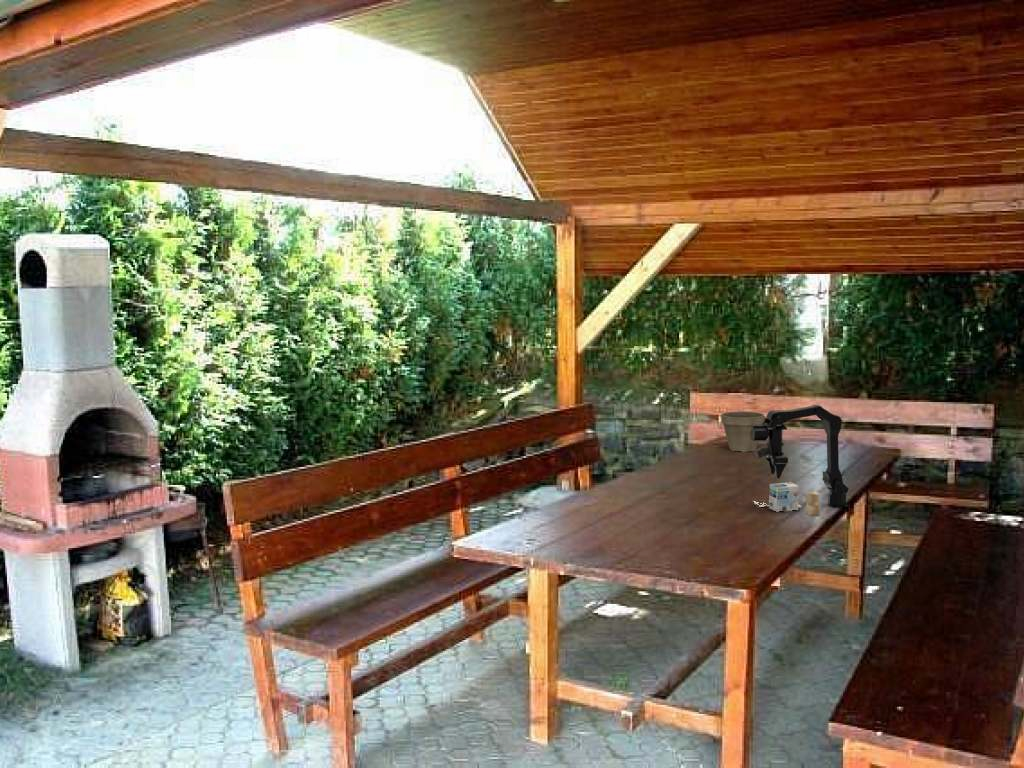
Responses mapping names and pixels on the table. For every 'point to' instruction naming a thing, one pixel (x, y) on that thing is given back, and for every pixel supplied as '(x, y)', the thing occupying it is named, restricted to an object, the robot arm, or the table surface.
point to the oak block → (812, 503)
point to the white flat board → (767, 505)
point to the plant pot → (741, 429)
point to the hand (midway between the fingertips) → (775, 476)
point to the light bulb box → (783, 497)
